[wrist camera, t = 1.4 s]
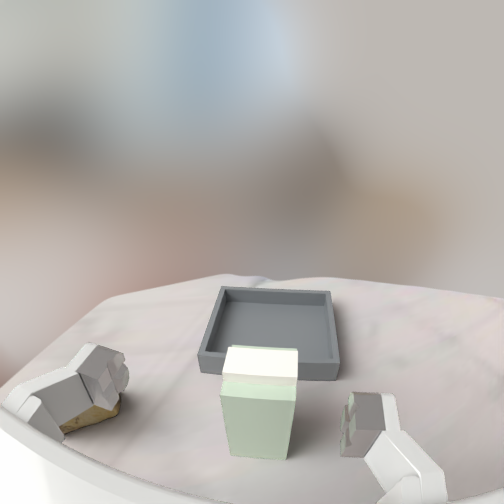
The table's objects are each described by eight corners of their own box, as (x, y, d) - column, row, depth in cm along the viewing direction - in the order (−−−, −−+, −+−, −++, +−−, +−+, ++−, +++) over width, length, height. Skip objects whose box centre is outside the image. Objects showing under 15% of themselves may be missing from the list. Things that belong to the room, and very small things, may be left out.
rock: (36, 445, 24) (105, 445, 25) (12, 377, 25) (79, 370, 26) (73, 419, 35) (132, 414, 36) (55, 364, 36) (114, 355, 37)
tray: (327, 307, 52) (330, 291, 50) (335, 380, 38) (340, 363, 36) (222, 302, 54) (221, 286, 52) (200, 372, 40) (197, 354, 38)
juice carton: (288, 416, 33) (297, 339, 27) (285, 459, 28) (297, 392, 22) (238, 413, 34) (231, 335, 28) (230, 455, 29) (218, 386, 22)
